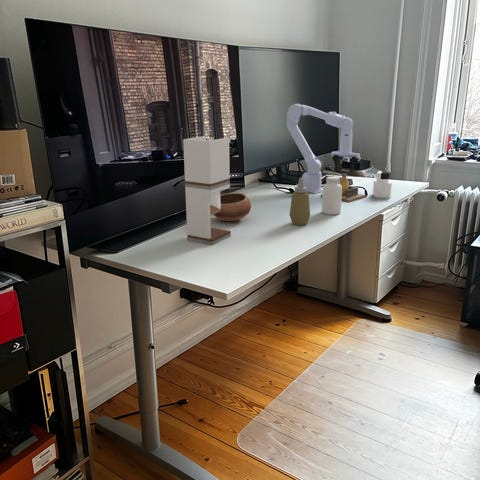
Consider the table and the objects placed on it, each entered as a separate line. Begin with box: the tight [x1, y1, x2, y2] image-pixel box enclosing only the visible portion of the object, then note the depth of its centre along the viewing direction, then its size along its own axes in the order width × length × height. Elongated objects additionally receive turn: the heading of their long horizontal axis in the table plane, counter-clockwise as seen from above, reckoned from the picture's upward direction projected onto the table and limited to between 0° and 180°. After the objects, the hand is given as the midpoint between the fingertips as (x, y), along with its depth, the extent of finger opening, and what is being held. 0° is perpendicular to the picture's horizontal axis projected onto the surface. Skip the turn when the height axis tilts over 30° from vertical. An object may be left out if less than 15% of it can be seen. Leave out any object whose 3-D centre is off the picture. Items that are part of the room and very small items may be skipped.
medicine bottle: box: [372, 170, 392, 199], centre depth 232 cm, size 7×7×12 cm
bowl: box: [212, 192, 252, 222], centre depth 194 cm, size 16×16×10 cm
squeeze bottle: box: [289, 177, 311, 226], centre depth 187 cm, size 8×8×18 cm
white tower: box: [182, 135, 231, 246], centre depth 168 cm, size 11×11×35 cm
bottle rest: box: [320, 185, 367, 203], centre depth 232 cm, size 16×14×4 cm
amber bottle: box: [338, 173, 350, 196], centre depth 230 cm, size 5×5×10 cm
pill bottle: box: [321, 176, 342, 216], centre depth 203 cm, size 8×8×15 cm
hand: (344, 171), depth 239 cm, fingers open, 7 cm apart
